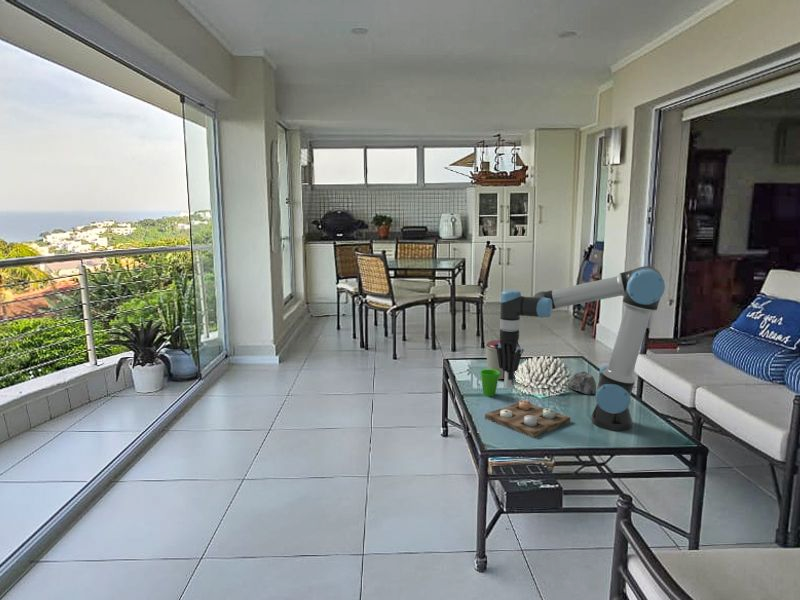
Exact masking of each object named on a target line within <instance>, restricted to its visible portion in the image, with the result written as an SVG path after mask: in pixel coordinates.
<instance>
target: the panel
mask: <svg viewBox="0 0 800 600" xmlns="http://www.w3.org/2000/svg"><path fill="white" fill-rule="evenodd" d="M543 409H545V408H544V407H541V406H538V405H535V404H532V403H531V410H530V411H522V410H520V409H519V401H518V402H515V403H513V404H510V405H507V406H504V407H500V408H499V409H495V410H492V411H490V412H486V413H485V414H484V419H485V418H486V419H485V420H487V419H488V421H490V420H491V422H492V421H493V423H495V422H496V423H495V424H497V423H498V424H497V425H500V424H501V426H502V425H503V427H505V426H506V427H505V428H507V427H508V429H510V428H511V429H510V430H512V431H515V430H516V431H515V432H518V433H520V432H521V434H523V433H524V434H523V435H525V434H526V436H528V435H529V436H528V437H530V436H531V438H533V437H534V438H536V437H538V435H539V436H540V434H541V435H544V434H545V433H548V432H550V431H553V430H555V429H557V428H560V427H562V426H564V425H566V424H569V423H570V422H571V416H567V415H564V414H562V413H558V412H557V411H555V419H553V420H548V419H545V418H543ZM501 410H511V411H512V417H511V418H508V419H507V418H504V417H501V416H500V411H501ZM526 415H532V416H535V417H537V426H536V427H527V426H525V425H524V416H526ZM535 436H536V437H535Z"/></svg>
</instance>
